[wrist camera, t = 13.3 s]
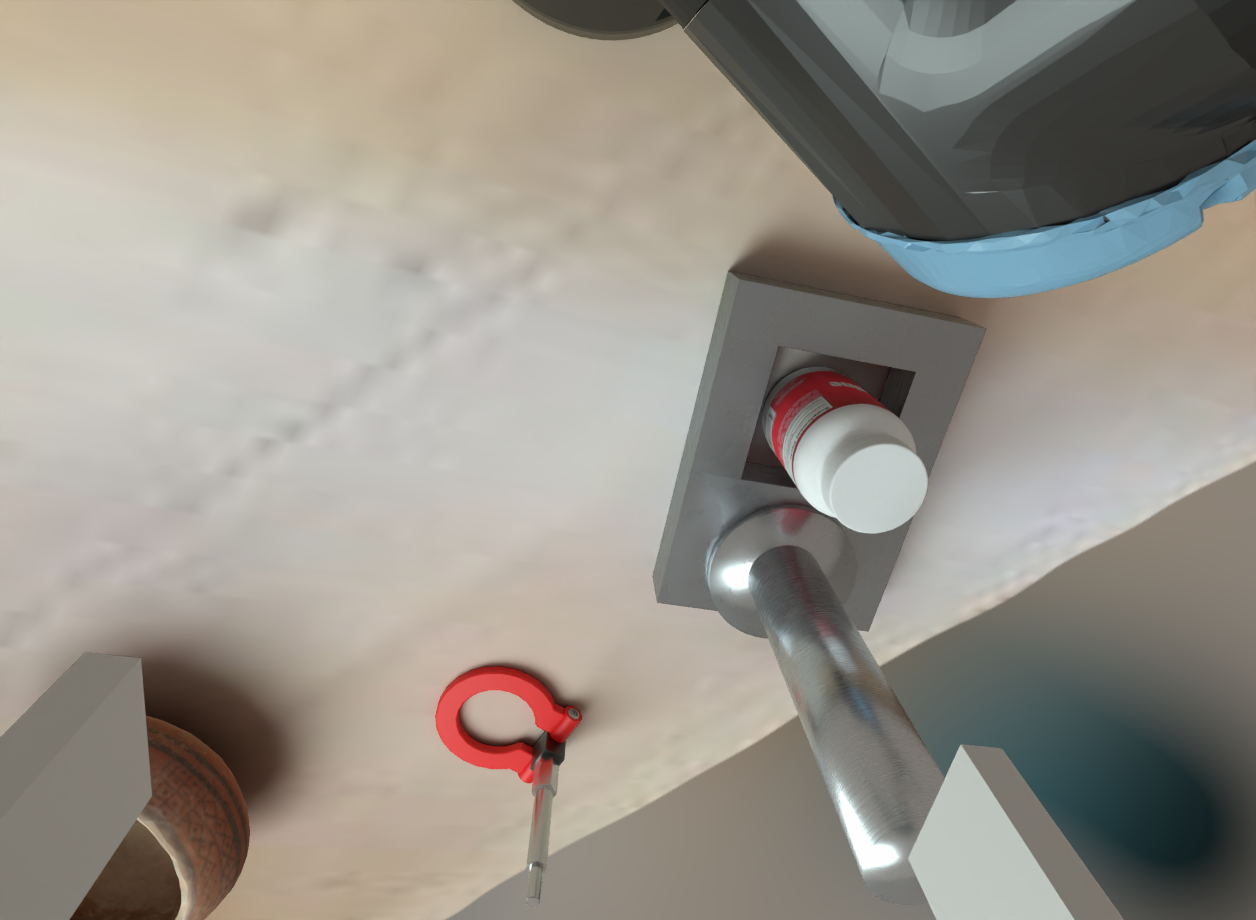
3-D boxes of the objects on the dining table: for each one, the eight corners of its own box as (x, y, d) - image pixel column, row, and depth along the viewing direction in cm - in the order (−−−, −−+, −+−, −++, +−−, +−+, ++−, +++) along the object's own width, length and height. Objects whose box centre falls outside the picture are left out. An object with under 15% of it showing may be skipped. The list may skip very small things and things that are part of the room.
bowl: (159, 640, 47) (58, 758, 38) (325, 785, 53) (272, 918, 44) (-9, 750, 50) (-143, 885, 40) (166, 877, 55) (84, 1021, 46)
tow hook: (417, 726, 52) (529, 779, 54) (360, 891, 40) (507, 951, 42) (475, 642, 49) (590, 701, 51) (433, 790, 37) (585, 860, 39)
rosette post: (728, 270, 40) (894, 397, 19) (959, 317, 42) (1345, 480, 21) (649, 589, 48) (705, 932, 27) (847, 617, 50) (1046, 958, 29)
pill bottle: (880, 411, 44) (970, 487, 34) (804, 478, 45) (869, 571, 35) (815, 341, 42) (890, 401, 32) (738, 415, 44) (787, 494, 33)
